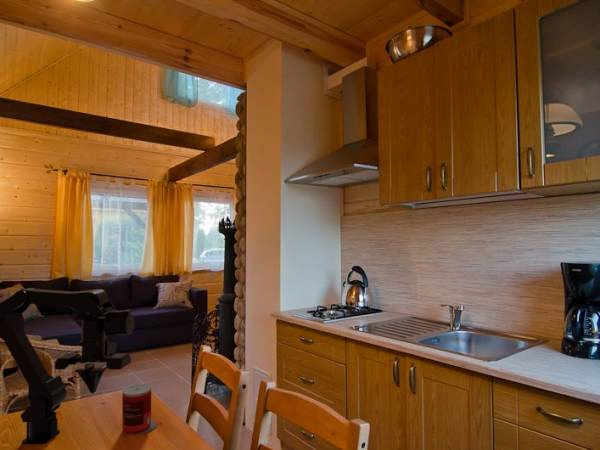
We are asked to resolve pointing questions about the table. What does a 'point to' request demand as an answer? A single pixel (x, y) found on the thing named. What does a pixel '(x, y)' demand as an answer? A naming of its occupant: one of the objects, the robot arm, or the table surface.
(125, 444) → the table surface
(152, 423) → the coaster
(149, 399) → the canned food
